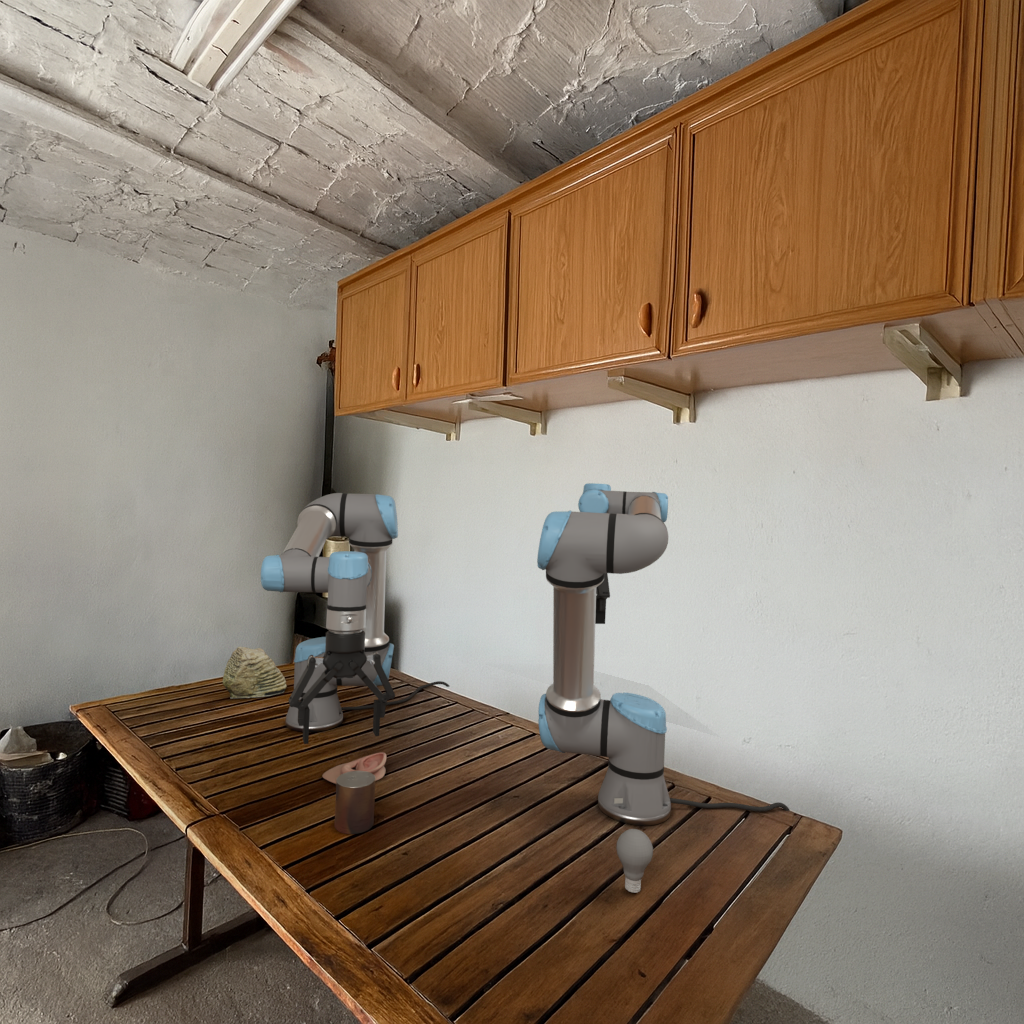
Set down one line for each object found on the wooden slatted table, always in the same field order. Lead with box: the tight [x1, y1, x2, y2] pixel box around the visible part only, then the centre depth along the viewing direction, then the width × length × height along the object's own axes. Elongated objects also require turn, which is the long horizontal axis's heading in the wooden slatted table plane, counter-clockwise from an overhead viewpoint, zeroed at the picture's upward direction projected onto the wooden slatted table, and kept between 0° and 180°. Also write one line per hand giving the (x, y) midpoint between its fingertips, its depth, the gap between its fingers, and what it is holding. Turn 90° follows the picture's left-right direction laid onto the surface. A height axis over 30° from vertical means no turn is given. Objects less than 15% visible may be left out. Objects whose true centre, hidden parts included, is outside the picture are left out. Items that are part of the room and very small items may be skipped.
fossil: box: [222, 646, 288, 699], centre depth 198 cm, size 9×18×15 cm, turn 132°
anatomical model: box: [321, 751, 387, 785], centre depth 144 cm, size 13×4×12 cm
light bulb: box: [615, 828, 654, 894], centre depth 106 cm, size 6×6×10 cm
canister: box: [334, 771, 376, 835], centre depth 123 cm, size 7×7×9 cm
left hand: (341, 737), depth 125 cm, fingers open, 13 cm apart
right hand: (591, 618), depth 172 cm, fingers open, 13 cm apart
